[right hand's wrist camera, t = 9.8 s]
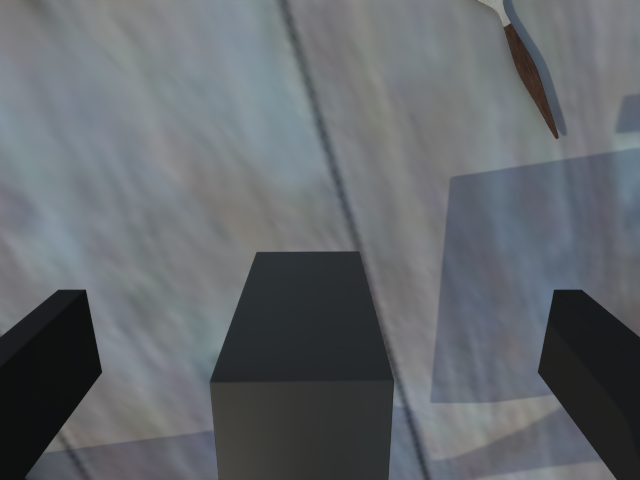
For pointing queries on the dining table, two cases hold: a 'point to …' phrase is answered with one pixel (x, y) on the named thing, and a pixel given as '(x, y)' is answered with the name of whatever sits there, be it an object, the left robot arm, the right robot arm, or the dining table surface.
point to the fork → (524, 65)
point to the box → (303, 374)
